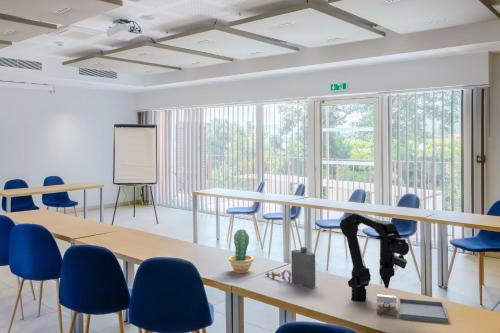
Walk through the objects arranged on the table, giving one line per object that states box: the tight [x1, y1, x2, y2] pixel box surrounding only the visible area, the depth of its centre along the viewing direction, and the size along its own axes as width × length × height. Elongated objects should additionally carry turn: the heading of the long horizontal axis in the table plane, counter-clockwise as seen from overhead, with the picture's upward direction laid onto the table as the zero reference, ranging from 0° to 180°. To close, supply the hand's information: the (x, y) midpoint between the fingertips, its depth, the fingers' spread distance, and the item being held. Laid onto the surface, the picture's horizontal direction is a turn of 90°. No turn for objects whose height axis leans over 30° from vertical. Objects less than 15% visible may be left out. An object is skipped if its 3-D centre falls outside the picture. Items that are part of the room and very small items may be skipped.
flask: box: [290, 246, 316, 289], centre depth 233 cm, size 15×6×20 cm, turn 44°
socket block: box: [376, 301, 397, 316], centre depth 194 cm, size 8×8×2 cm
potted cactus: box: [228, 228, 255, 274], centre depth 259 cm, size 16×15×25 cm
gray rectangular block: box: [376, 294, 397, 307], centre depth 194 cm, size 8×2×7 cm, turn 73°
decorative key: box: [264, 269, 292, 284], centre depth 243 cm, size 7×1×20 cm
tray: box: [397, 297, 449, 324], centre depth 193 cm, size 19×19×2 cm
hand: (386, 284), depth 194 cm, fingers open, 9 cm apart
